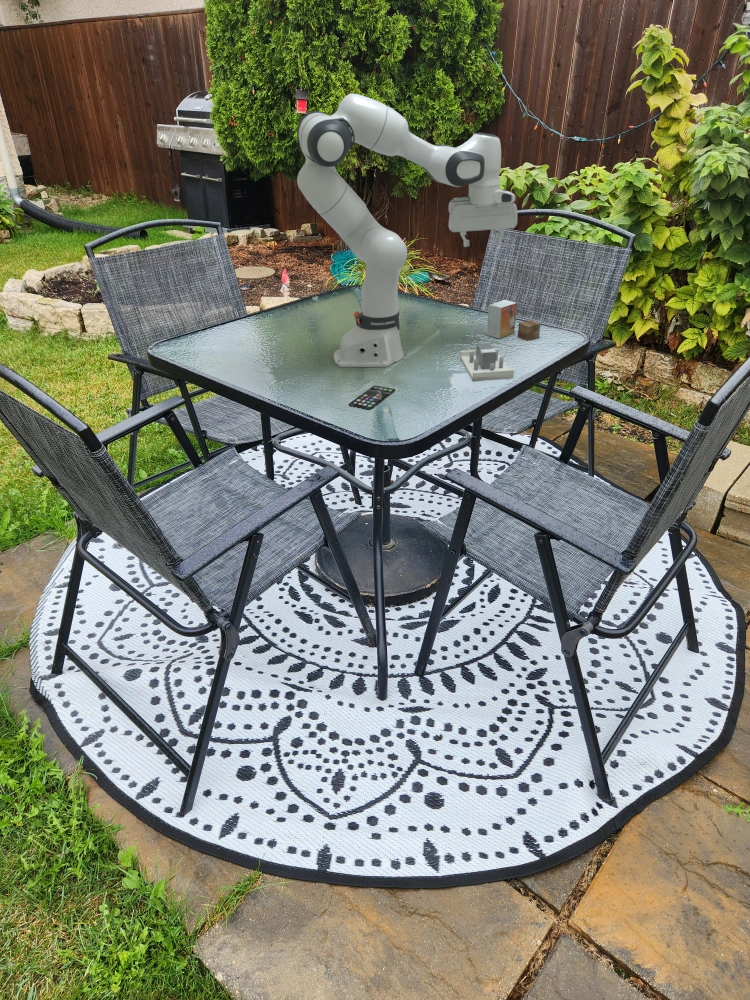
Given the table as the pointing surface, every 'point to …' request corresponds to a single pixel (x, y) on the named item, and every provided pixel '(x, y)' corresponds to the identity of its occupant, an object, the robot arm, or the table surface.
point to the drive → (485, 355)
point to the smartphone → (372, 397)
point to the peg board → (485, 374)
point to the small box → (501, 319)
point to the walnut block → (528, 330)
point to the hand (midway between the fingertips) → (481, 245)
